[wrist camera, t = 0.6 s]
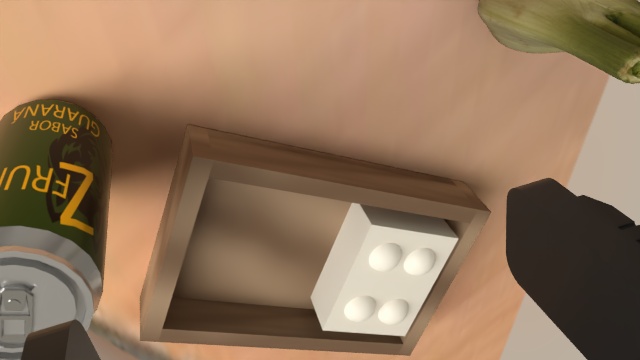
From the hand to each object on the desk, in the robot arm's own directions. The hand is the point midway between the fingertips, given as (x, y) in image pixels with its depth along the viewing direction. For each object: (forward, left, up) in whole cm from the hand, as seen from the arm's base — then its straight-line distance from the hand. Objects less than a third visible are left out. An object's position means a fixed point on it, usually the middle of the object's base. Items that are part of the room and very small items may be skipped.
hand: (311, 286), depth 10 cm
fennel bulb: (-5, +16, -20) cm, 26 cm away
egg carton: (+12, +14, -19) cm, 27 cm away
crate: (+12, +10, -20) cm, 25 cm away
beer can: (+9, -5, -20) cm, 23 cm away
